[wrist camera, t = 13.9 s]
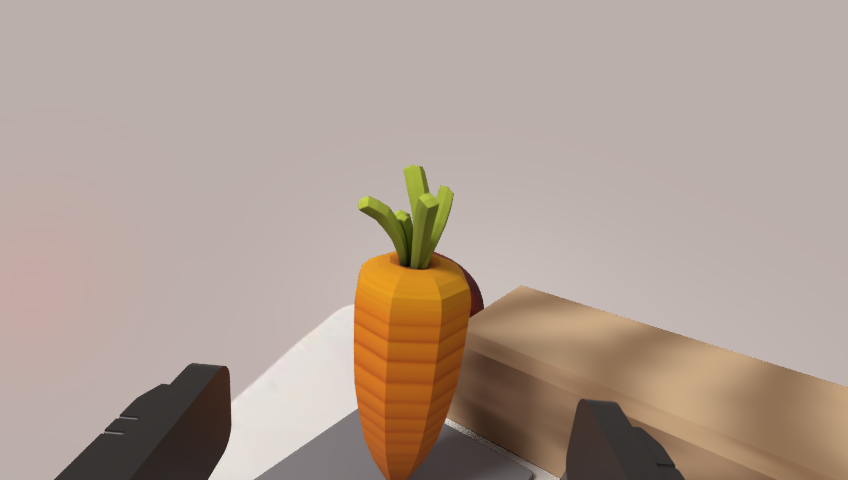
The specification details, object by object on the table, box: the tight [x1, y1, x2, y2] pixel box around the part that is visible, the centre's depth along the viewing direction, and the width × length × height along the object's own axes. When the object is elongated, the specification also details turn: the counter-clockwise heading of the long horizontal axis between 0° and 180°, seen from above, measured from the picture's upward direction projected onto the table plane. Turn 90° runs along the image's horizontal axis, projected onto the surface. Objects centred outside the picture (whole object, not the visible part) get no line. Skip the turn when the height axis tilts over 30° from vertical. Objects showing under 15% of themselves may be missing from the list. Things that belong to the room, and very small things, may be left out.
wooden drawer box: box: [447, 285, 848, 480], centre depth 22 cm, size 18×16×6 cm
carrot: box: [354, 165, 471, 480], centre depth 19 cm, size 5×5×15 cm
